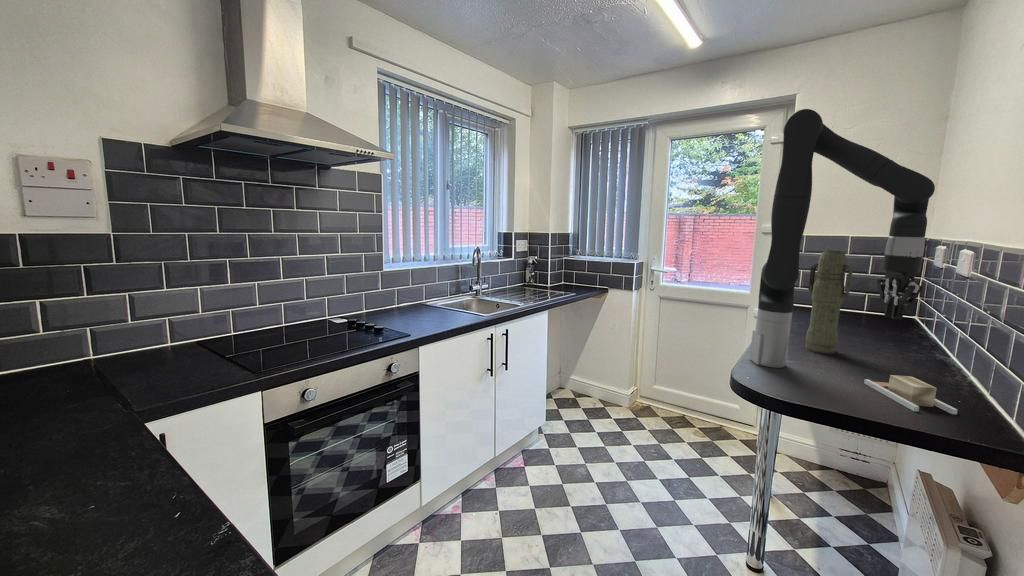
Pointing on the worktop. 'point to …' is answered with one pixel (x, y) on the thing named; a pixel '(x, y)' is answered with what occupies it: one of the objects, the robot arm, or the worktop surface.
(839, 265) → the thermos
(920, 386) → the beech block
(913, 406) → the channel
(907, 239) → the robot arm
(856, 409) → the worktop surface
